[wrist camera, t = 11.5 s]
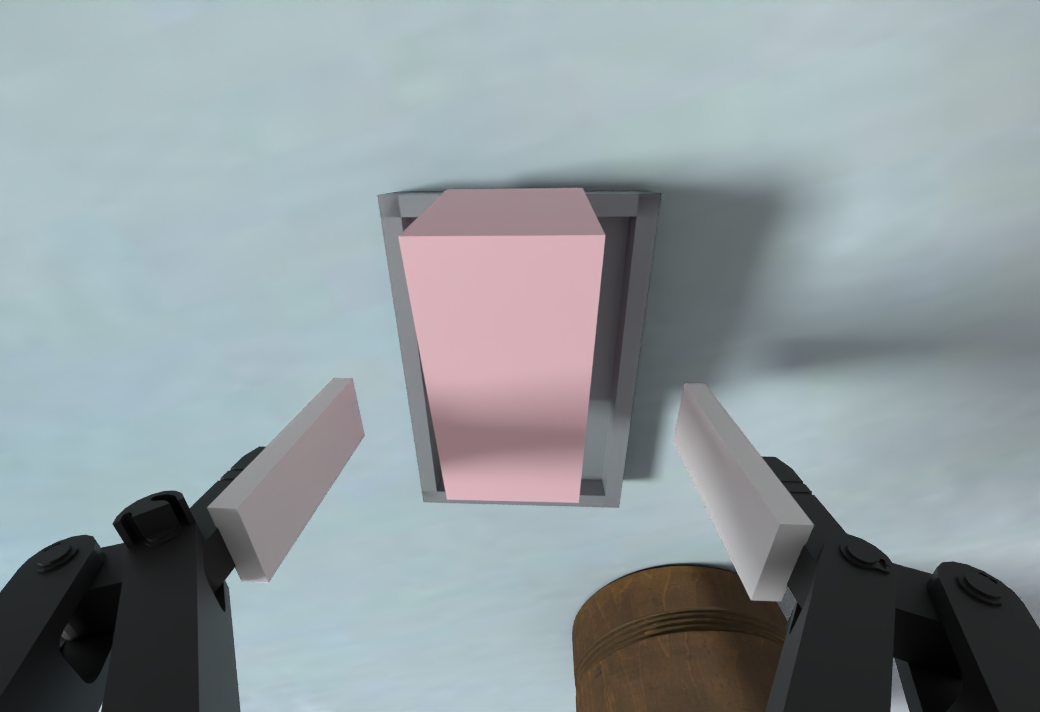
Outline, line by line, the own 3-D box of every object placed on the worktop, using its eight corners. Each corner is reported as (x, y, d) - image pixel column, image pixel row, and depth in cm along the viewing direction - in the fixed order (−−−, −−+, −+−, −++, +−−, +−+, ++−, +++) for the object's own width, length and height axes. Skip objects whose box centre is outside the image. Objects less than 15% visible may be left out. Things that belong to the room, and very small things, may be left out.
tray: (432, 476, 23) (423, 502, 22) (394, 192, 17) (377, 195, 15) (612, 480, 23) (619, 507, 21) (647, 190, 16) (661, 193, 15)
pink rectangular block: (470, 399, 20) (447, 499, 15) (446, 189, 15) (397, 236, 10) (568, 400, 20) (578, 503, 15) (582, 187, 14) (605, 235, 9)
